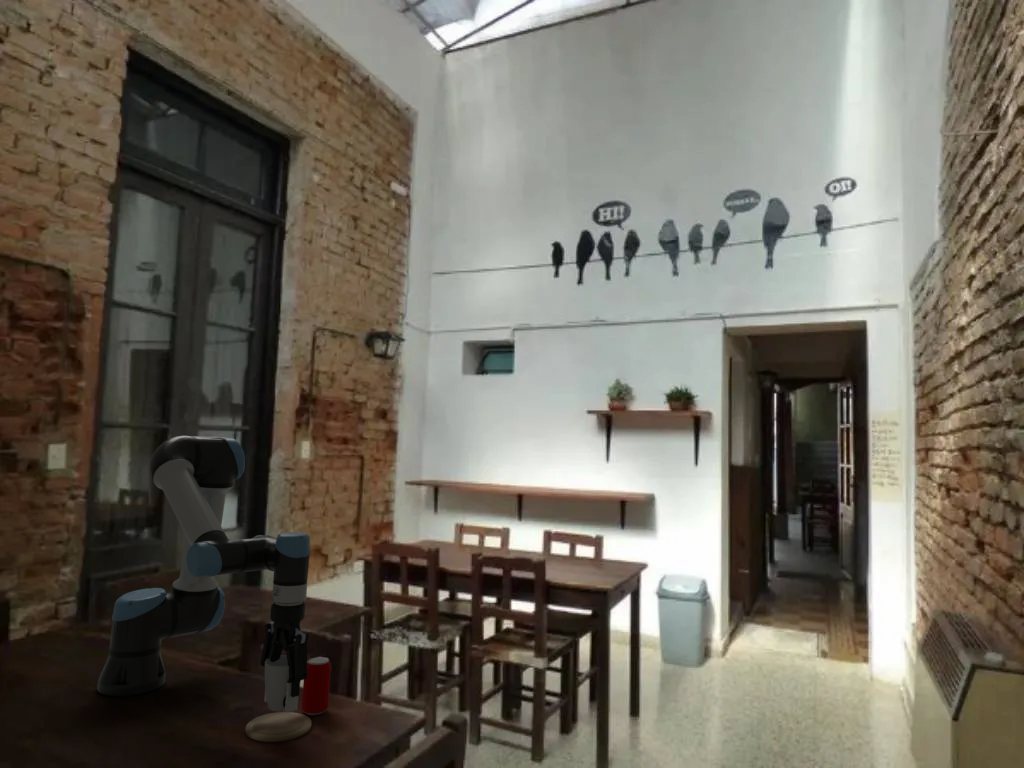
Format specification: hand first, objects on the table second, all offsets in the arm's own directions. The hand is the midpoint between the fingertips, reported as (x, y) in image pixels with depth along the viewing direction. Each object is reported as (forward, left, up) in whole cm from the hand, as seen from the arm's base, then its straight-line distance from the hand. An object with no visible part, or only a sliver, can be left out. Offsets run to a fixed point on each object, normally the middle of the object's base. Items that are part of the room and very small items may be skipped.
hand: (280, 705), depth 149 cm
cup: (0, 0, 0) cm, 0 cm away
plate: (0, 0, -5) cm, 5 cm away
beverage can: (-2, +11, -5) cm, 12 cm away
